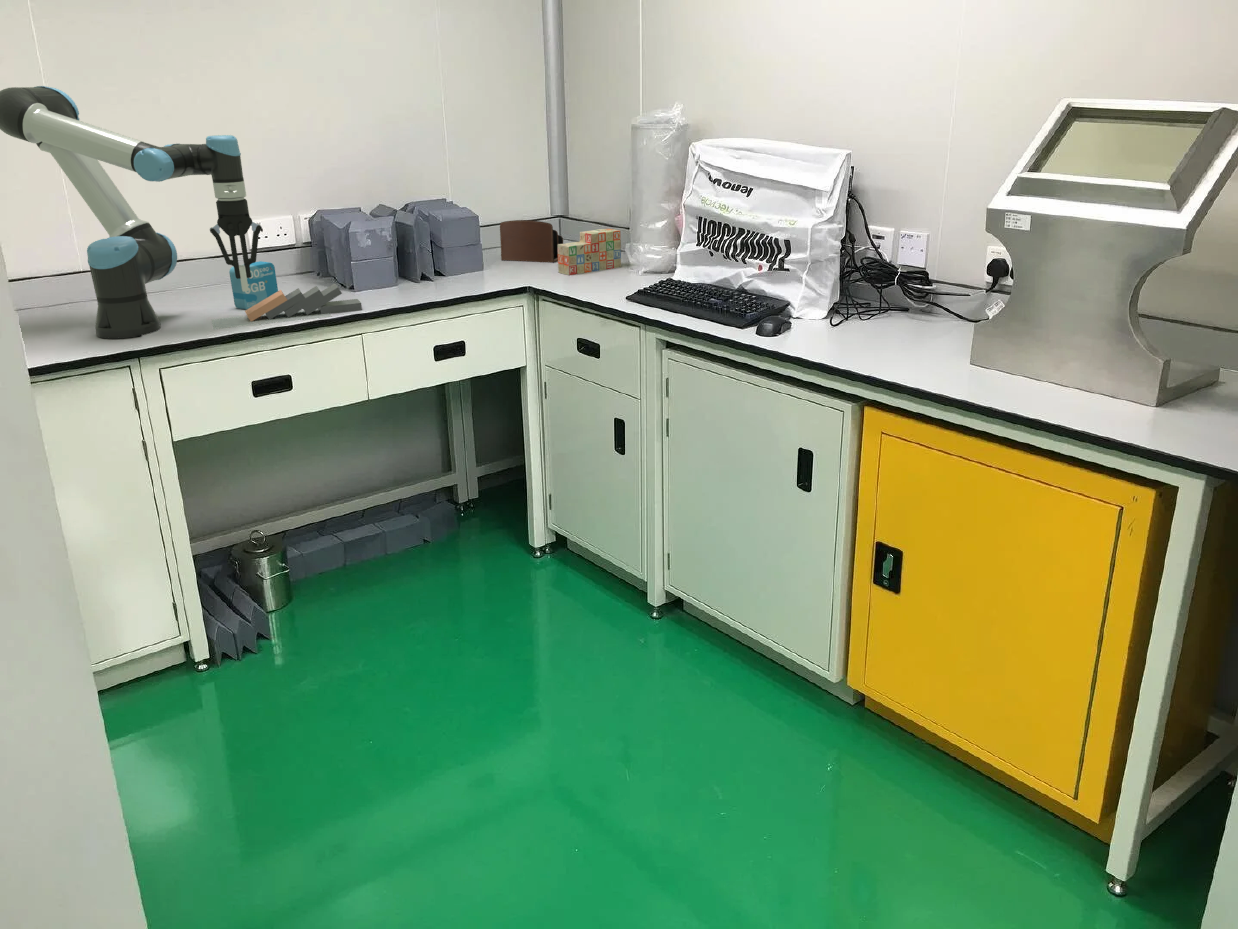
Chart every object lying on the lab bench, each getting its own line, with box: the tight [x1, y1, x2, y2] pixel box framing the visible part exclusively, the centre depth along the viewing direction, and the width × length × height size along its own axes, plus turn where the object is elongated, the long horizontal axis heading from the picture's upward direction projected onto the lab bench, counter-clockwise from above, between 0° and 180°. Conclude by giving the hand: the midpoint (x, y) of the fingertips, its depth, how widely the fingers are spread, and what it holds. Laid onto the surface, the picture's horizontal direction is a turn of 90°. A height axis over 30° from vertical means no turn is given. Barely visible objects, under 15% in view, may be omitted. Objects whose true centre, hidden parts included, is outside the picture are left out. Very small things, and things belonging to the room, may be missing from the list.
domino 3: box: [283, 285, 323, 318], centre depth 267 cm, size 2×6×11 cm
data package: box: [228, 260, 279, 311], centre depth 278 cm, size 12×4×12 cm, turn 147°
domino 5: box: [318, 298, 363, 314], centre depth 272 cm, size 2×6×11 cm
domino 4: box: [302, 283, 343, 315], centre depth 269 cm, size 2×6×11 cm
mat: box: [210, 309, 333, 330], centre depth 264 cm, size 30×12×1 cm, turn 114°
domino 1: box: [244, 289, 287, 322], centre depth 264 cm, size 2×6×11 cm
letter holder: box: [499, 219, 564, 264], centre depth 341 cm, size 10×20×14 cm, turn 71°
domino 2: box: [265, 288, 305, 320], centre depth 265 cm, size 2×6×11 cm
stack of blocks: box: [557, 228, 622, 276], centre depth 320 cm, size 21×6×12 cm, turn 129°
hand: (245, 290), depth 260 cm, fingers closed
